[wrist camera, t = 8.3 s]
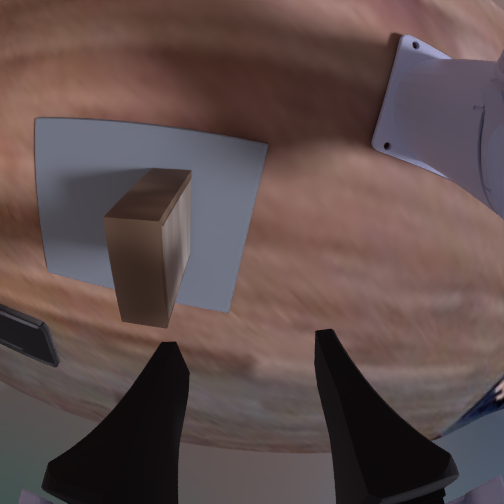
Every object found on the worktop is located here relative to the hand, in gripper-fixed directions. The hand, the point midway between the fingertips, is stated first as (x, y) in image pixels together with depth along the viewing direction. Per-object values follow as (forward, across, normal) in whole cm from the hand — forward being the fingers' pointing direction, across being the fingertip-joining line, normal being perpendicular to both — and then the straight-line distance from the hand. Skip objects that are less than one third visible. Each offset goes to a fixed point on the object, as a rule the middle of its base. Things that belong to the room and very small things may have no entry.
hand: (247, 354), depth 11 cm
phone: (+12, +31, +9) cm, 34 cm away
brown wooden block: (+10, +5, -2) cm, 11 cm away
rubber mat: (+10, +8, -2) cm, 13 cm away
